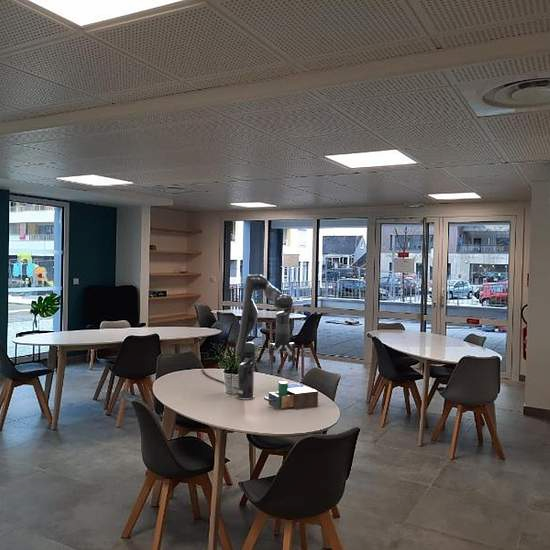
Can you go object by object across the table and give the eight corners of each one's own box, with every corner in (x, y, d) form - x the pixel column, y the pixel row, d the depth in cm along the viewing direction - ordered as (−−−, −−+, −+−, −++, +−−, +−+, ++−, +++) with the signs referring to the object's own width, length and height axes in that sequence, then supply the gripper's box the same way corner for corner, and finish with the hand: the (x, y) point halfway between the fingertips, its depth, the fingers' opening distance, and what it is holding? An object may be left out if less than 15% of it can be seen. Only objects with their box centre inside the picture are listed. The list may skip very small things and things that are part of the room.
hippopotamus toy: (309, 397, 323) (310, 381, 323) (290, 400, 314) (290, 384, 314) (298, 394, 332) (298, 378, 332) (279, 397, 323) (279, 381, 323)
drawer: (271, 410, 289) (271, 397, 289) (261, 405, 299) (262, 392, 299) (299, 406, 297) (299, 394, 297) (289, 402, 308) (289, 390, 308)
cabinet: (294, 409, 295) (295, 393, 295) (284, 404, 307) (284, 388, 307) (317, 406, 302) (318, 391, 302) (306, 401, 313) (306, 386, 313)
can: (276, 403, 300) (277, 381, 300) (284, 402, 303) (285, 381, 302) (280, 405, 295) (281, 383, 295) (289, 404, 298) (289, 382, 298)
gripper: (292, 331, 289) (291, 360, 290) (267, 331, 285) (266, 361, 285) (297, 332, 282) (296, 363, 283) (272, 333, 278) (271, 364, 278)
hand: (281, 362), depth 284 cm, fingers open, 8 cm apart
